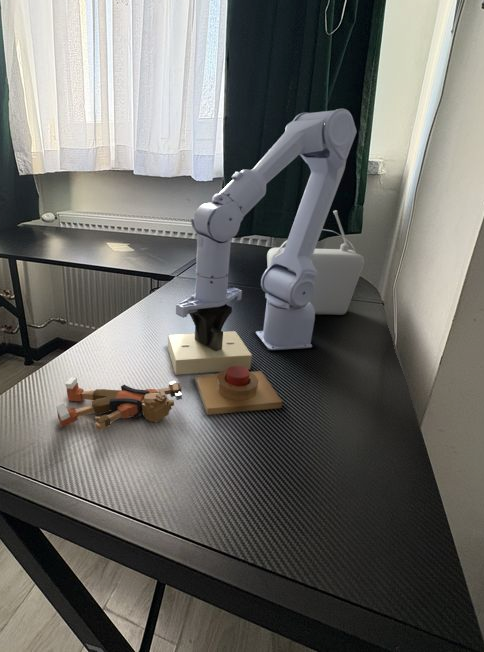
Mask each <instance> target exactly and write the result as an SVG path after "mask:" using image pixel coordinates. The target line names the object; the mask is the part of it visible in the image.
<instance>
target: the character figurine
mask: <svg viewBox="0 0 484 652" xmlns="http://www.w3.org/2000/svg"><path fill="white" fill-rule="evenodd" d="M64 385H65V388H66V396H67V399H68V401H69V402H82V401H83V400H89V401H91V404H90V405H88V406H84V407H81V408H77V409H76V408H74V407H73V408H72V407H70V408H67V406H66V404H65V403H61V404H60V405H57V406H56V414H57V419H58V422H59V424H60V426H61V428H63V427H66V426H69V425H71V424H73V423H75V422H76V421H77V420H78V418H79V417H81V416H86V415H89V414H93V413H94V415H95V416H94V421H96V422H94V428H95V430H97V431H99V432H101V431H103V430H104V429H106V428H108V427H110V426H111V423H113V422H114V421H117V420H118V419H129V418H131V417H133V418H134V419H135V418H139V417H140V416H141V414H142V416H143V417H144V418H145V419H146V420H148V421H149V422H155V423H159V422H160V421H161V420H163V419H164V418H166V417H167V416H168V415H169V414H170V411H171V410H172V409H173V408H172V407H174V406H175V402H174V401H175V400H174V399H169V397H168V396H167V395H170V397H171V398H173V397H175V399H176V401H178V400H182V399H183V393H182V392H183V391H182V387H181V384H180V382H176V381H175V380H173V381H170V382H169V384H168V387H163V388H157V389H155V388H146V389H137V388H133V387H130V386H128V385H126V384H122V385H121V386H120V389H121V390H120V389H107V388H106V389H105V388H97V389H94V390H93V389H92V390H84V388H81V387H79V383H78V378H77V376H76V377H75V376H71V377H69V379H68V380H66V382H65V384H64ZM108 412H111V413H110V414H108V415H107V414H106V413H108ZM102 414H103V415H102ZM97 415H101V416H97Z"/></svg>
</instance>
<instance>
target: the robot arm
mask: <svg viewBox="0 0 484 652" xmlns="http://www.w3.org/2000/svg"><path fill="white" fill-rule="evenodd" d="M284 129H285V131H284V132H283V134H281V136H280V137H279V138H278V139H277V141H276V142H275V143H274V144H273V145H272V146H271V147H270V148H269V149H268V151H267V152H266V153H265V154H264V156H262V158H261V159H260V160H259V161H258V162H257V163H256V165H255V166H254V167H253V168H252V169H242V170H240V171H235V172H234V173H233V174H232V175H231V178H232V180H231V181H229V183H227V184H226V186H225V187H224V188H222V190H220V191H219V193H215V194H214V195H213V196H212V198H211V199H212V200H211V202H207V203H206V202H204V203H202V204H201V205H200V206H199V207H198V208H197V209H196V211H195V213H194V216H193V218H191V219H190V220H191V221H190V223H191V227H192V229H193V231H194V232H195V234H196V260H195V261H196V262H195V286H194V287H195V288H194V291H193V292H192V295H191V296H190V297H188V298H186V299H185V300H183V301H181V302H178V303H176V304H175V315H177V316H179V317H180V318H186V317H188V315H189V316H190V318H191V320H192V322H193V324H194V328H195V327H196V330H197V334H198V339H199V343H201V344H203V345H205V346H208V345H209V342H210V336H211V329H212V326H213V327H215V328H217V329H219V330H221V331H222V329H223V327H224V325H225V323H226V321H227V319H228V318H229V317H230V315H231V314H232V312H233V307H232V306H230V305H228V303H229V302H232V301H241V300H242V295H243V290H242V289H239V288H236V287H232V288H228V284H229V272H230V258H231V257H230V256H231V243H232V239H233V238H234V237H236V236H237V234H238V232H239V230H240V227H241V222H242V221H243V220H244V217H245V216H246V215H247V214H248V213H249V212H251V210H252V209H253V208H254V207H255V206H256V205H257V204H258V203H259V202H260V201H261V200H262V199H263V198H264V197H265V196H266V193H267V185H268V183H269V182H271V180H272V179H274V178H275V177H276V176H277V175H278V174H279V173H280V172H281V171H283V170H284V169H285V168H286V167H287V166H289V164H290V163H292V162H293V161H294V160H295V159H296V158H297V157H298V156H300V157H301V158H302V160H303V161H304V162H305V163H306V164H307V166H308V167H309V170H310V175H309V178H308V181H307V183H306V186H305V189H304V192H303V195H302V198H301V200H300V203H299V205H298V209H297V212H296V215H295V217H294V221H293V224H292V226H291V229H290V232H289V235H288V237H287V240H286V241H287V243H286V244H285V245H284V247H283V248H284V251H283V252H282V253H281V254H279V255H277V256H275V257H274V258H272V260H271V263H270V265H269V267H268V266H267V268H266V269H265V271H264V272H263V273H262V275H261V279H260V287H261V290H262V291H263V292H264V295H265V296H264V298H265V299H266V303H265V304H266V305H265V312H264V321H263V329H262V330H257V331H255V335H256V336H257V337H258V338H259V339H260V341H261V342H262V344H263V345H264V346H265V348H266V349H267V350H269V351H282V350H284V351H285V350H297V349H298V350H299V349H311V348H313V345H312V344H311V343H312V339H313V332H314V326H315V320H316V314H315V312H314V308H313V306H312V304H311V303H310V301H311V299H312V297H313V295H314V292H315V281H316V278H317V275H318V273H317V271H316V269H315V267H314V265H313V264H312V262H311V258H312V255H313V252H314V250H315V249H316V247H317V244H318V242H319V239H320V237H321V233H322V231H323V230H322V229H324V228H323V227H324V226H325V223H326V220H327V217H328V216H329V212H330V211H331V210H330V209H331V207H332V203H333V201H334V199H335V197H336V194H337V191H338V188H339V185H340V183H341V180H342V178H343V175H344V172H345V169H346V164H347V159H348V156H349V154H350V151H351V148H352V146H353V143H354V140H355V138H356V135H357V132H358V131H357V127H356V125H355V121H354V118H353V115H352V114H351V112H350V111H349V110H348V109H346V108H336V109H334V110H325V111H316V112H301V113H299V114H297V115H296V116H295V117H294V118H293V120H292V121H290V122H289V123H287V124H286V126H285V128H284ZM288 269H292V270H294V271H295V272H296V273H295V272H293V271H290V270H288Z"/></svg>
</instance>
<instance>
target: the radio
mask: <svg viewBox="0 0 484 652" xmlns="http://www.w3.org/2000/svg"><path fill="white" fill-rule="evenodd" d="M332 212H333V216H334V217H335V219H336V223H337V225H338V228H339V231H340V233H341V234H340V233H338V232H336V231H334V230H330V229H324V228H322V231H326V232H331V233H335V234H337V235H339V236H340V237H342V239H343V243H342V244H340V246H339V248H315V250H314V252H313V255H312V258H311V262H312V264H313V265H314V267H315V269H316V271H317V273H318V275H317V278H316V281H315V292H314V295H313V297H312V299H311V301H310V303H311V304H312V306H313V308H314V312H315V315H321V316H322V315H323V316H324V315H325V316H326V315H327V316H344V315H345V314H346V313H347V312H348V309H349V306H350V304H351V301H352V298H353V295H354V294H355V290H356V287H357V284H358V281H359V280H360V276H361V274H362V271H363V268H364V265H365V258H364V256H363V255H361V254H360V253H358V251H357V250H356V248H355V246H354V244H353V243H352V242H351V241H350V240H349V239H347V238H346V235H345V232H344V228H343V227H342V223H341V220H340V217H339V214H338V212H339V211H338V210H336V209H335V210H333V211H332ZM286 243H287V240H285V241H283V243H282V244H281V245H280V246H279V247H272V248H270V249H269V250H268V251H267V254H266V262H267V266H266V267H267V268H268V267H269V265H270V263H271V260H272V258H274V257H275V256H277V255H279V254H281V253H282V252H283V251H284V248H285V246H286ZM348 243H349V244H350V245H349V244H348ZM350 246H351V248H352V249H349V247H350ZM288 270H290V271H293V272H295V271H294V270H292V269H288ZM295 273H296V272H295Z"/></svg>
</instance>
